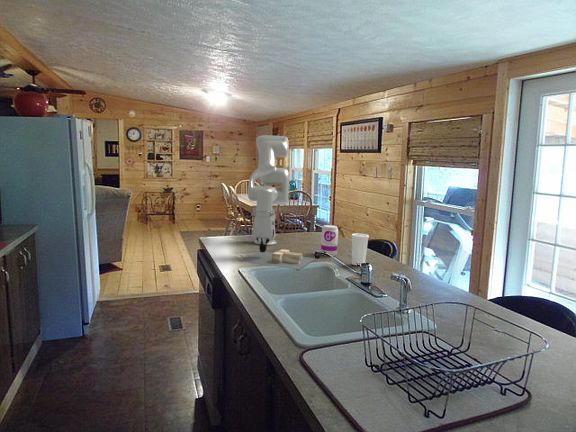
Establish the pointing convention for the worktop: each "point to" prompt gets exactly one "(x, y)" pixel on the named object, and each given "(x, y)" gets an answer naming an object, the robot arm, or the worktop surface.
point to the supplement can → (329, 239)
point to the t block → (286, 257)
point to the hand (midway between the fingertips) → (262, 251)
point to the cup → (359, 248)
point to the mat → (266, 259)
